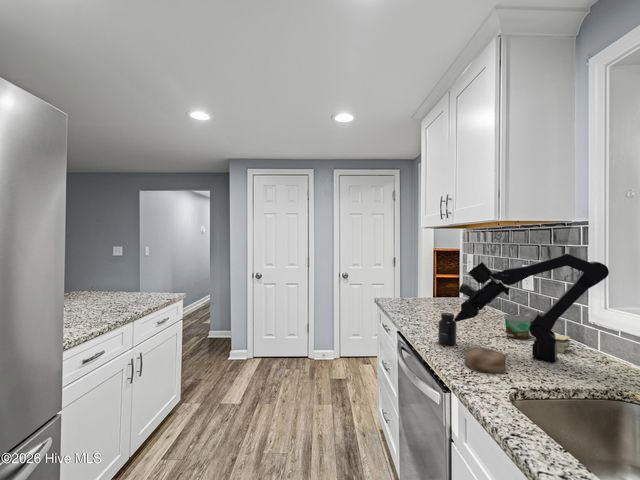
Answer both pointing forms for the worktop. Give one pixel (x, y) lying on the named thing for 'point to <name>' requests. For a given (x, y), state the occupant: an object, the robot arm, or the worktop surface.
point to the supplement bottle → (447, 330)
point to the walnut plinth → (485, 360)
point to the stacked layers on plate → (562, 343)
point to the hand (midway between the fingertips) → (457, 318)
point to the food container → (517, 325)
